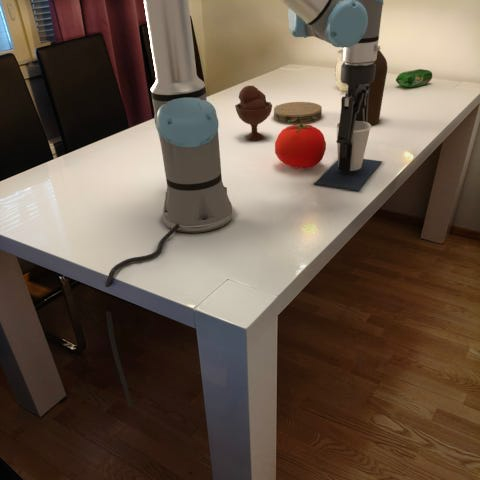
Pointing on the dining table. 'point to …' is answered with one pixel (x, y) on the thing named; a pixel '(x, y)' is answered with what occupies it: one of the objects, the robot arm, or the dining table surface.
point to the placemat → (348, 176)
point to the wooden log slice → (297, 113)
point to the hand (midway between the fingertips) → (350, 163)
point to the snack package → (414, 78)
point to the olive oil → (377, 89)
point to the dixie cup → (357, 143)
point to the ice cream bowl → (253, 110)
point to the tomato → (300, 146)
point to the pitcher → (338, 72)
